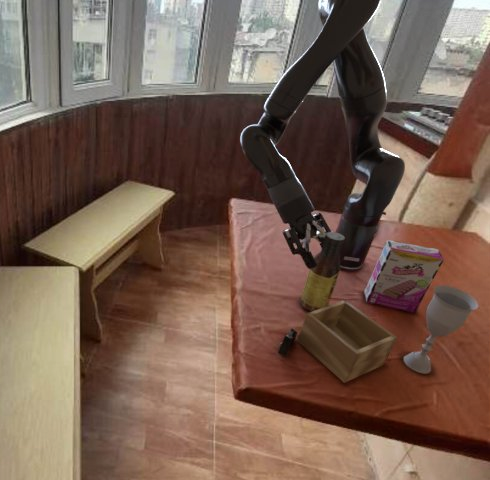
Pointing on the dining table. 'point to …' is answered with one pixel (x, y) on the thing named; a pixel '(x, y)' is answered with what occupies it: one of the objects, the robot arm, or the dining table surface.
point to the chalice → (441, 322)
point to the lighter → (287, 342)
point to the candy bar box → (402, 275)
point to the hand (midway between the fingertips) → (322, 261)
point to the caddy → (345, 340)
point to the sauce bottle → (323, 274)
